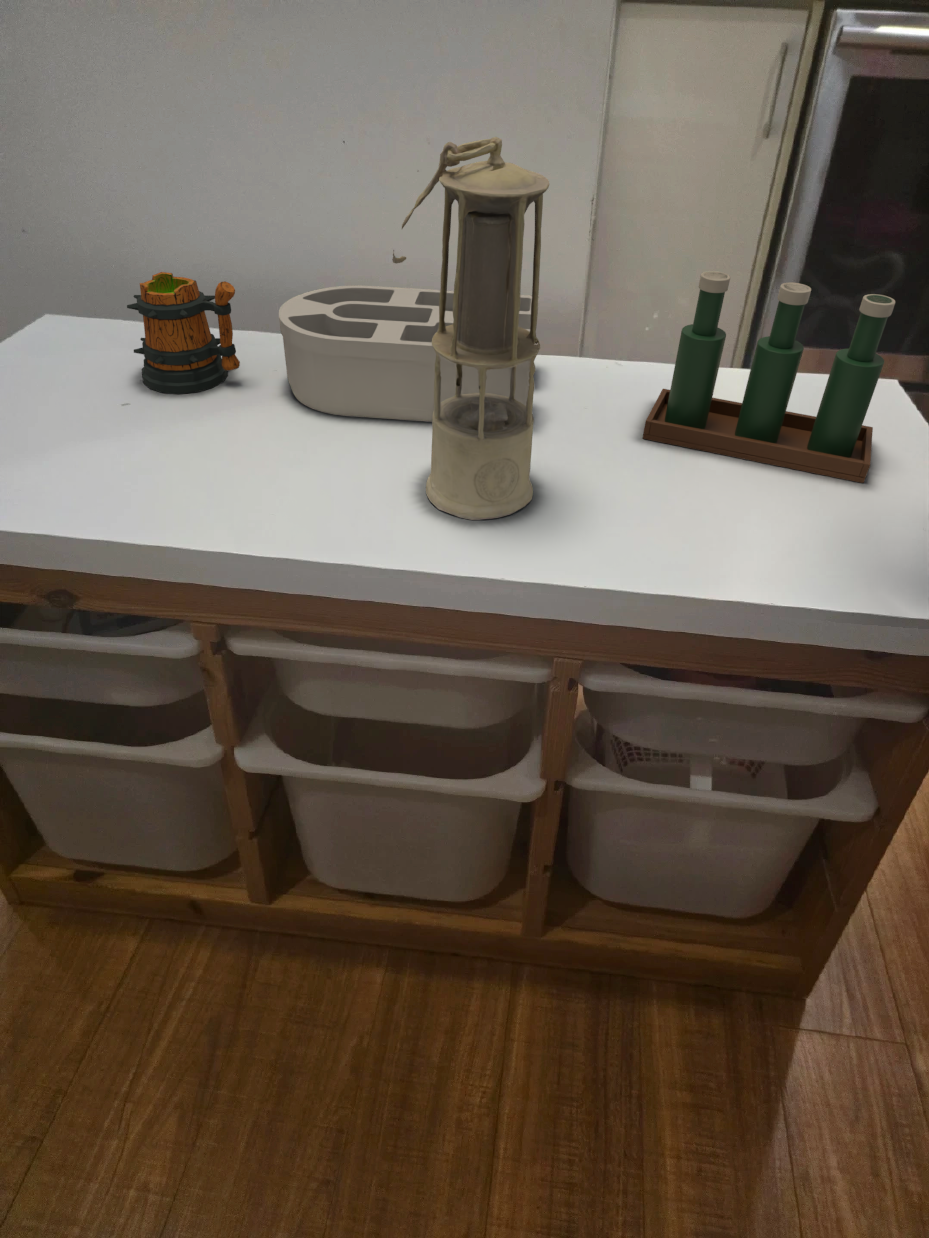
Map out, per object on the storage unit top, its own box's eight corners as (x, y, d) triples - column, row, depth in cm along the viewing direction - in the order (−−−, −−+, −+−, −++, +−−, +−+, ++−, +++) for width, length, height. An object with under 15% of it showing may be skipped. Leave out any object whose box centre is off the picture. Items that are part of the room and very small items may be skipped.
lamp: (518, 528, 77) (548, 156, 58) (382, 503, 79) (367, 139, 60) (543, 473, 84) (576, 128, 65) (418, 452, 87) (415, 115, 68)
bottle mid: (768, 426, 92) (809, 279, 82) (783, 446, 89) (828, 295, 79) (728, 427, 92) (764, 279, 82) (742, 447, 88) (782, 295, 79)
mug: (122, 387, 97) (96, 283, 90) (171, 353, 104) (151, 255, 97) (225, 404, 94) (208, 299, 87) (267, 369, 102) (255, 269, 94)
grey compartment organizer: (527, 431, 91) (533, 352, 86) (269, 413, 93) (259, 335, 87) (533, 367, 104) (539, 296, 98) (306, 353, 106) (300, 281, 100)
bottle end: (698, 413, 94) (730, 268, 84) (711, 432, 91) (745, 283, 81) (659, 414, 94) (686, 268, 84) (670, 433, 90) (700, 283, 81)
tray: (866, 445, 91) (873, 427, 89) (863, 483, 84) (870, 464, 83) (659, 405, 97) (662, 388, 95) (642, 438, 91) (645, 420, 89)
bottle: (840, 440, 90) (890, 291, 80) (858, 460, 87) (913, 307, 77) (800, 441, 90) (846, 291, 80) (817, 461, 86) (867, 308, 77)
